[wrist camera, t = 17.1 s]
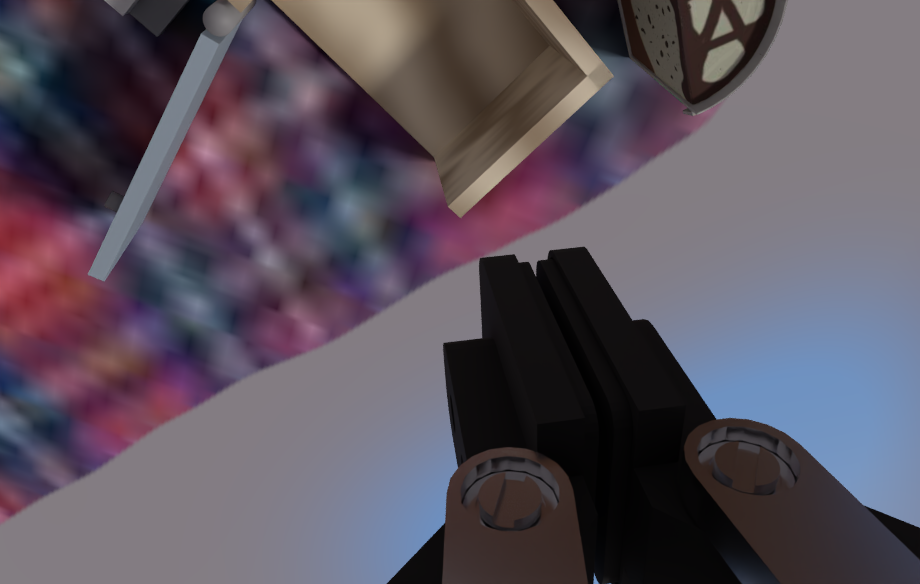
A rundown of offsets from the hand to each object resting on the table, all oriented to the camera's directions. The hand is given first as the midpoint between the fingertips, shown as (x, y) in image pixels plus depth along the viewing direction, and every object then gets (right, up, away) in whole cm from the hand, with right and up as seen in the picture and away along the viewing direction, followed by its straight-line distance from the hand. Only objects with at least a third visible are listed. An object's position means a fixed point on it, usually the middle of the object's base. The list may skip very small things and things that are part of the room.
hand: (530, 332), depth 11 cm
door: (-18, +12, +31) cm, 38 cm away
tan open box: (-4, +17, +30) cm, 35 cm away
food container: (+11, +21, +31) cm, 39 cm away
